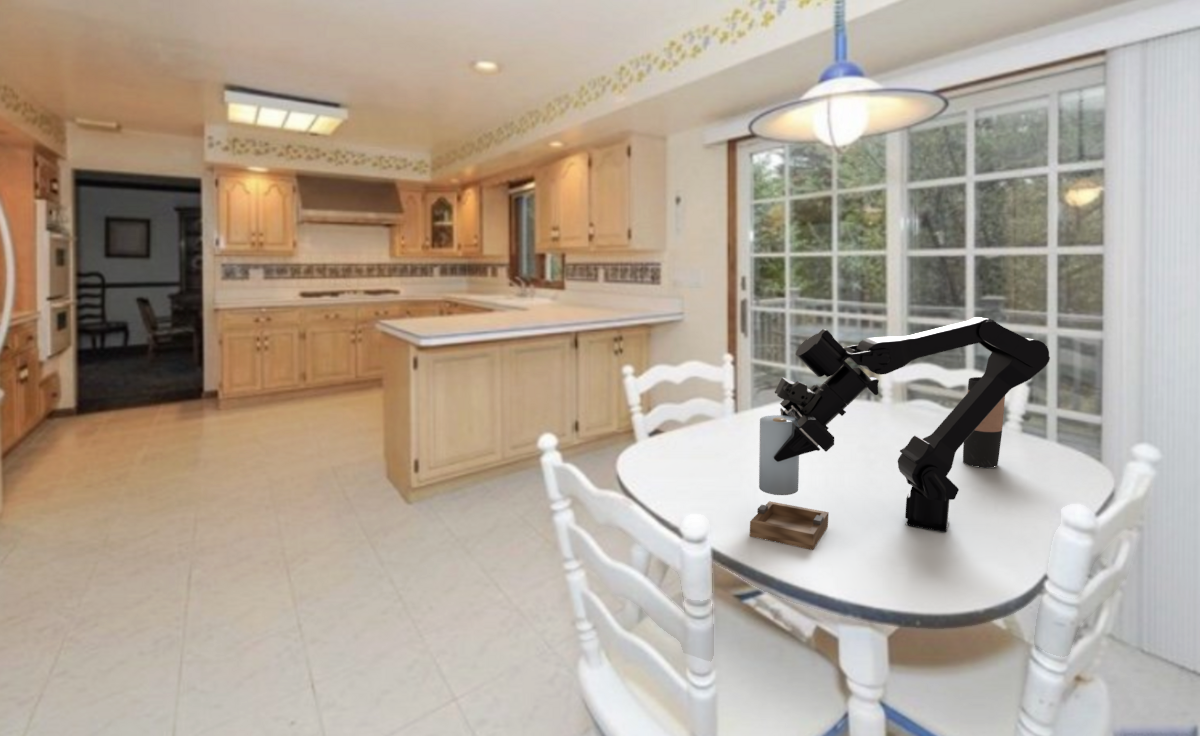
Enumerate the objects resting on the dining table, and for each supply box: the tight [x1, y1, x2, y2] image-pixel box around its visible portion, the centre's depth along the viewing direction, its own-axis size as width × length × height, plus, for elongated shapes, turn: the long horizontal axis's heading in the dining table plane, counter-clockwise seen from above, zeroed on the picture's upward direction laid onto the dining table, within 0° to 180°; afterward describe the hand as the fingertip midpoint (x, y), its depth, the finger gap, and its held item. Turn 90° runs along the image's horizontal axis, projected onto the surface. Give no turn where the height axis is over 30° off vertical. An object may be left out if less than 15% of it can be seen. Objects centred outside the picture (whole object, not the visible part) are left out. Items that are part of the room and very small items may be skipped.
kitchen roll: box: [758, 414, 800, 496], centre depth 119 cm, size 7×7×13 cm
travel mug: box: [962, 376, 1006, 468], centre depth 151 cm, size 8×8×20 cm
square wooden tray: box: [749, 500, 829, 551], centre depth 117 cm, size 11×11×4 cm
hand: (771, 453), depth 119 cm, fingers closed on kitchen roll, 7 cm apart
